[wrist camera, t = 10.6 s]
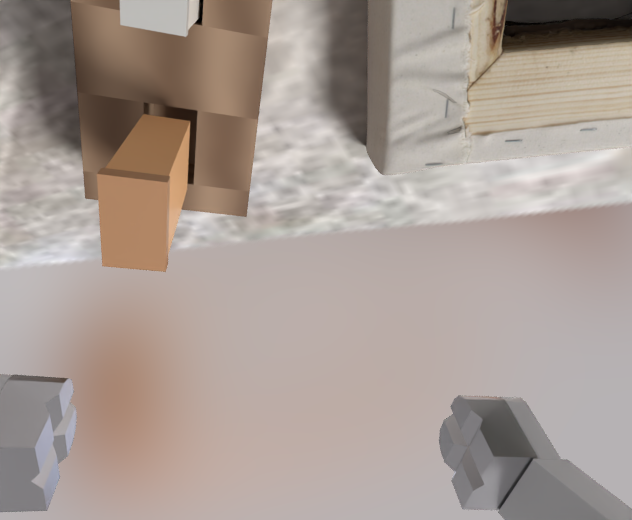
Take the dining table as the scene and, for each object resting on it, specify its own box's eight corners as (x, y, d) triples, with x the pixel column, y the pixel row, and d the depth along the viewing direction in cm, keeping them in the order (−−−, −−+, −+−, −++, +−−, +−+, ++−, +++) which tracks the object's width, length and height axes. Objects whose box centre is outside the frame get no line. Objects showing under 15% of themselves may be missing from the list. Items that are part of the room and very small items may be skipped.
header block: (106, 168, 40) (85, 198, 35) (91, -146, 30) (57, -167, 25) (247, 186, 43) (246, 216, 38) (280, -100, 32) (285, -111, 27)
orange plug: (142, 185, 34) (102, 266, 25) (141, 112, 31) (96, 173, 22) (188, 191, 34) (165, 271, 25) (191, 119, 32) (167, 182, 23)
